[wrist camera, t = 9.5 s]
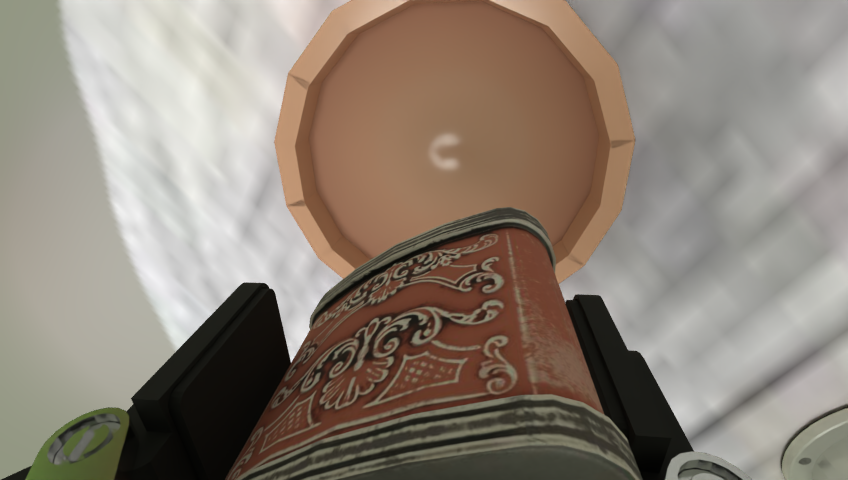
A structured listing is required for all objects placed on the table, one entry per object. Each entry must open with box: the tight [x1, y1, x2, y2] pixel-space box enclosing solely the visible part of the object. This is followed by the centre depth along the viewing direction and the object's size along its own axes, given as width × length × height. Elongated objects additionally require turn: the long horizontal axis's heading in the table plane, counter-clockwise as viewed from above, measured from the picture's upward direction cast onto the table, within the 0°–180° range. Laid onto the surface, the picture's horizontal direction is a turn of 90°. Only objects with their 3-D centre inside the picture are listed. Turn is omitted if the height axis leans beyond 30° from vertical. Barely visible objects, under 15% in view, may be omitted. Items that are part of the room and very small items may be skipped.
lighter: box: [225, 207, 643, 480], centre depth 8 cm, size 8×3×10 cm, turn 121°
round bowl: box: [274, 0, 635, 284], centre depth 24 cm, size 20×20×3 cm
